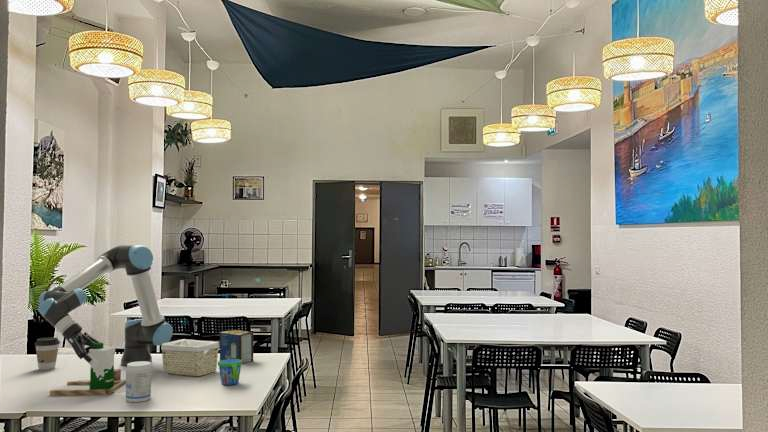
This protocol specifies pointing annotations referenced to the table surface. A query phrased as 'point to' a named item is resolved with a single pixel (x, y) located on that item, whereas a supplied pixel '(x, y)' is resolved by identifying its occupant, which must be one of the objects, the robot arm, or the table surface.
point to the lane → (86, 392)
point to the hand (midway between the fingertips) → (103, 363)
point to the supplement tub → (138, 381)
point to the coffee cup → (47, 352)
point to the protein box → (236, 345)
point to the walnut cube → (117, 374)
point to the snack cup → (230, 371)
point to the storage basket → (190, 357)
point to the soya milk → (102, 367)
